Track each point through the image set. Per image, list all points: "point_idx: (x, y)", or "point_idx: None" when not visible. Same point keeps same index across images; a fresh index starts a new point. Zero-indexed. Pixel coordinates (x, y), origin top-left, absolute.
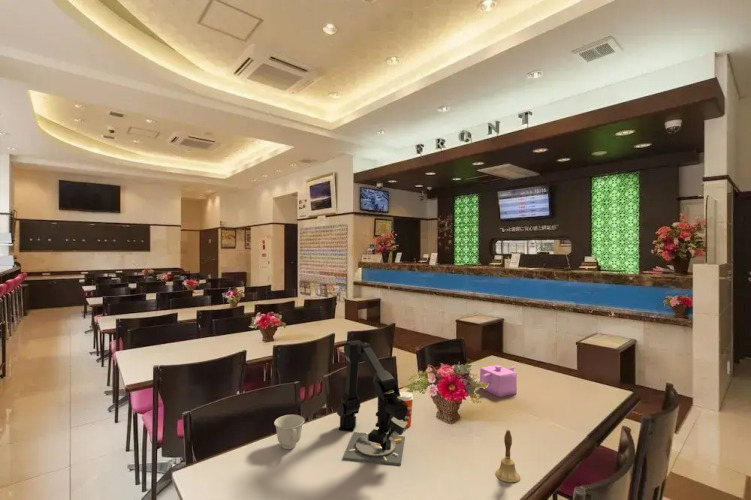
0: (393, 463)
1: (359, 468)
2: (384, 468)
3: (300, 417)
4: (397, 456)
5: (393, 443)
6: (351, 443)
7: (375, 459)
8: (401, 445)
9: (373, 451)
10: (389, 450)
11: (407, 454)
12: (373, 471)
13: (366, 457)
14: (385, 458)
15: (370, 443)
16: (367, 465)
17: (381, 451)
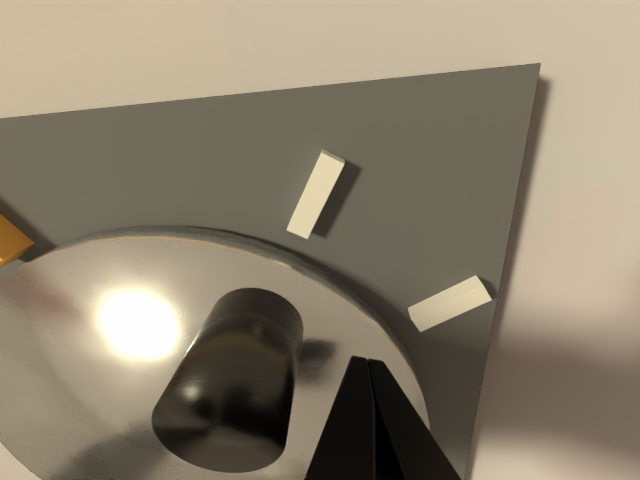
0: (508, 184)
1: (567, 447)
2: (586, 267)
3: None
4: (346, 158)
5: (95, 274)
6: None
7: (457, 381)
8: (30, 150)
9: None
10: (302, 297)
11: (185, 9)
12: (634, 354)
13: None
14: (463, 304)
15: (228, 474)
16: (520, 408)
17: None
